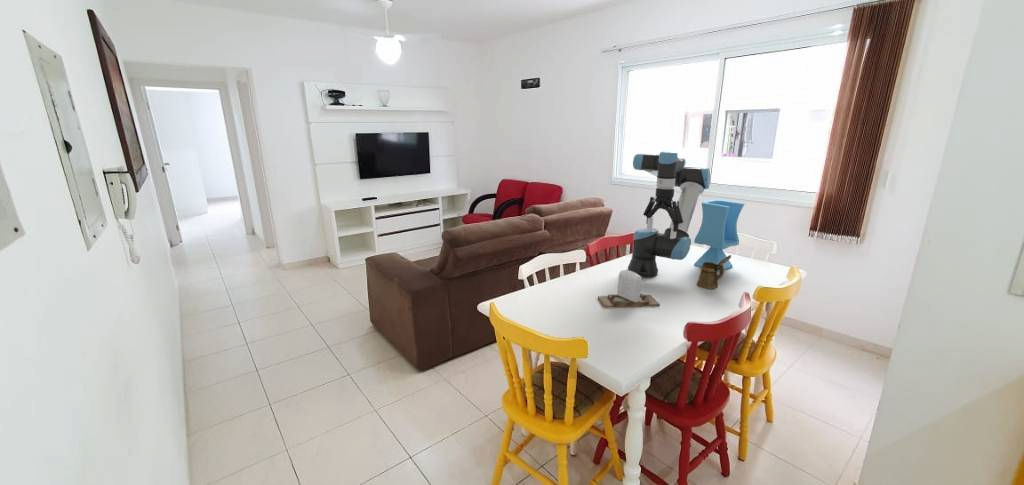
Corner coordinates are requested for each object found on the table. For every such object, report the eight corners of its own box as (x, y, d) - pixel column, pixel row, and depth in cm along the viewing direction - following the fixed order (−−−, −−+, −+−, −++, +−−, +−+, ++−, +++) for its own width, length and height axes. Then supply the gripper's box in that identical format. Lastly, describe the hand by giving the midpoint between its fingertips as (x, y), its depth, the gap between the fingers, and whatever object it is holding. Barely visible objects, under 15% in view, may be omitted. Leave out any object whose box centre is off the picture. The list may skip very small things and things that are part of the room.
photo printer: (641, 300, 172) (643, 273, 169) (634, 303, 170) (637, 275, 166) (622, 293, 180) (624, 267, 177) (615, 295, 178) (617, 269, 174)
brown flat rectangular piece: (604, 308, 170) (604, 301, 170) (597, 298, 180) (598, 292, 179) (659, 306, 171) (660, 300, 171) (650, 296, 181) (651, 290, 180)
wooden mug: (720, 294, 183) (725, 256, 178) (692, 285, 193) (697, 249, 188) (730, 290, 188) (736, 253, 183) (703, 281, 198) (707, 246, 193)
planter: (718, 273, 208) (728, 207, 199) (691, 265, 221) (699, 202, 211) (735, 267, 217) (744, 203, 207) (707, 260, 229) (715, 199, 219)
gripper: (637, 185, 184) (634, 229, 190) (683, 192, 163) (677, 242, 169) (649, 183, 187) (646, 227, 193) (695, 190, 166) (689, 240, 172)
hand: (660, 234), depth 181 cm, fingers open, 13 cm apart
